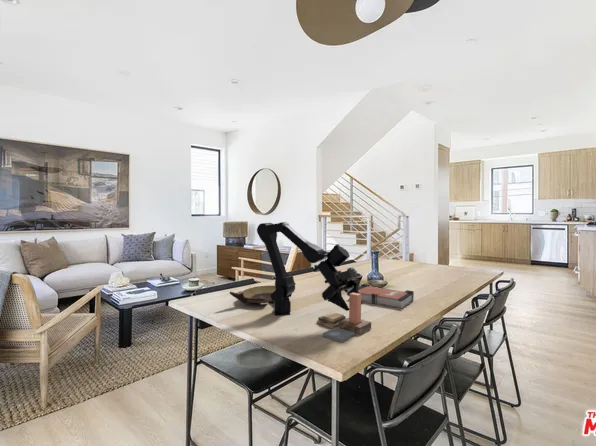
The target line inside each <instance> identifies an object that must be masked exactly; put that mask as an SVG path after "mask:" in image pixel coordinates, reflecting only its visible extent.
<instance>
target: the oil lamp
mask: <svg viewBox="0 0 596 446" xmlns="http://www.w3.org/2000/svg"><path fill="white" fill-rule="evenodd" d="M275 290H276V288H275V285H259V286H253V287H249V288H246V289H244V290H242V291H237V292H233V291H229V294H230V295H231V296H232V297H233V298H235V299H236V300H237V301H240V303H242V304H246V303H252V304H268V303H272V302H273V303H274V300H272V299H271V294H272V293H273V292H274V291H275Z"/></svg>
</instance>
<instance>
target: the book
mask: <svg viewBox="0 0 596 446" xmlns="http://www.w3.org/2000/svg"><path fill="white" fill-rule="evenodd" d="M358 292H359V294H361V301H362V303H369V304H372V305H379V306H385V307H392V308H396V309H403V308H405V307H406V306H408V305H409V304H411V303H412V302H413V301H414V295H415V294H414V290H408V289H407V290H405V291H401V290H396V289H389V288H383V287H382V288H381V287H377V286H376V287H375V286H370V284H367V283H362V284H361V285H360V286H359V288H358Z"/></svg>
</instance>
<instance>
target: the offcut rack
mask: <svg viewBox="0 0 596 446" xmlns="http://www.w3.org/2000/svg"><path fill="white" fill-rule="evenodd" d="M346 317H347V316H346V315H344V314H342V313H338V312H333V311H331V312H328V313H326V314H323V315H321V316H318V317H317V318H318V319H317V320H316V324H317V325H320V326H324V327H327V328H331V329H333V328H335V327H337V328H340V329H344V330H347V331H351V332H354V333H355V334H356V335H363V334H364V333H366V332H368V331H369V330H372V321H368V320H365V319H361V323H360V324H358V325H357V324H354V323H350V322H349V317H347V318H346Z"/></svg>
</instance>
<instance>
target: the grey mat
mask: <svg viewBox="0 0 596 446" xmlns="http://www.w3.org/2000/svg"><path fill="white" fill-rule="evenodd" d="M322 337H323V338H328V339H330V340H334V341H337V342H339V343H344V342H345V341H347V340H349V339H351V338H353V337H355V333H354V332H351V331H347V330H344V329H340V328H339V327H335V328H331V329H329V330H326V331H324V332H322Z"/></svg>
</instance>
